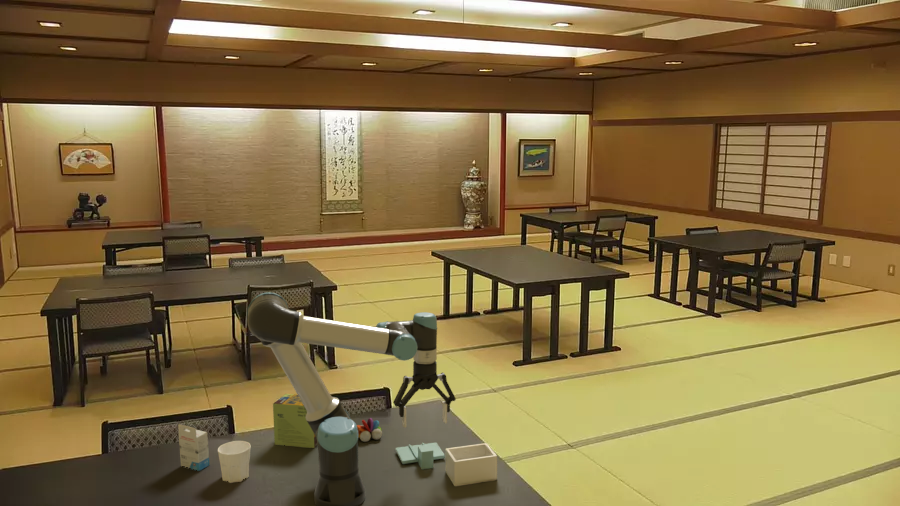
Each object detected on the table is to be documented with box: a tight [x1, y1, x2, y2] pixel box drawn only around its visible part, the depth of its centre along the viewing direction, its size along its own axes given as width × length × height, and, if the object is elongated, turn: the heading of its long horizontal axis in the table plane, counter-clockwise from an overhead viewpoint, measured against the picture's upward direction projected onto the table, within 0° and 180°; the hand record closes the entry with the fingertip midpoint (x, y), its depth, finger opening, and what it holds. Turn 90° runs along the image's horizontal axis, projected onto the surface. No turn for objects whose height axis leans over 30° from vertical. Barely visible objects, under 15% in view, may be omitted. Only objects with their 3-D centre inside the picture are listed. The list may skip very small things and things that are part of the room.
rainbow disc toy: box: [356, 417, 383, 443], centre depth 248 cm, size 8×10×7 cm
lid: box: [395, 442, 445, 470], centre depth 231 cm, size 15×15×6 cm
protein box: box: [272, 393, 318, 449], centre depth 245 cm, size 10×15×16 cm
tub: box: [444, 442, 498, 487], centre depth 218 cm, size 14×10×8 cm
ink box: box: [177, 423, 210, 472], centre depth 226 cm, size 9×5×15 cm, turn 62°
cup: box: [217, 440, 252, 484], centre depth 219 cm, size 10×10×10 cm
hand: (424, 423), depth 223 cm, fingers open, 13 cm apart
